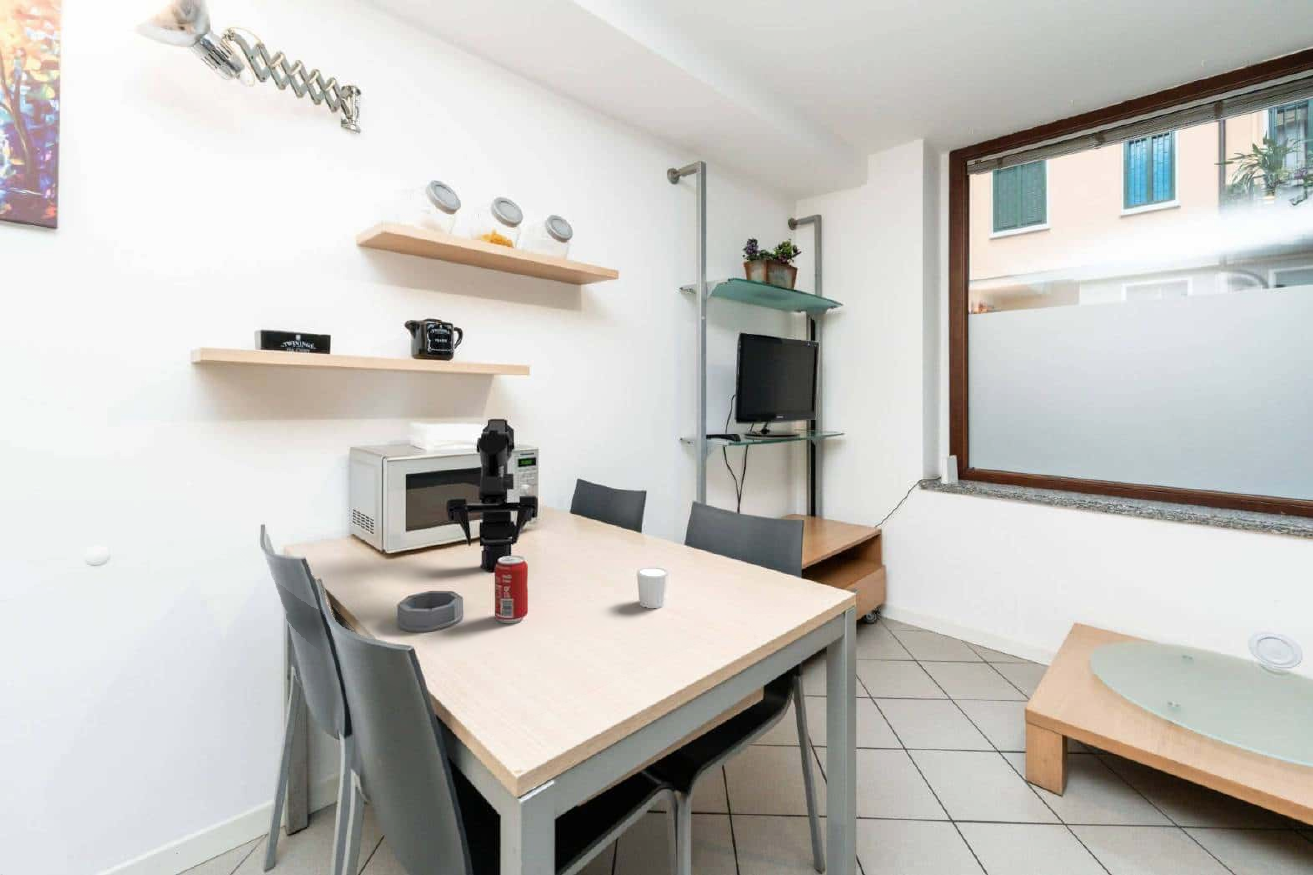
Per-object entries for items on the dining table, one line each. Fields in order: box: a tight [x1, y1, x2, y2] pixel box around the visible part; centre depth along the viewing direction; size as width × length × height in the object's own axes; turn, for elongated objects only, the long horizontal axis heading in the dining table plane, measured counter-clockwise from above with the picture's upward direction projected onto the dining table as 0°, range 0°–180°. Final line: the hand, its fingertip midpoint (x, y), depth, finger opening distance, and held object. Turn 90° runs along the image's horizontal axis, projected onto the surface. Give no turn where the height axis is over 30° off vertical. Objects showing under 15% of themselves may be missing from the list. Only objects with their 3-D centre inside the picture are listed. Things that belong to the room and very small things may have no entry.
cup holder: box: [396, 590, 464, 633], centre depth 108 cm, size 12×12×4 cm
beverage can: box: [494, 555, 529, 624], centre depth 109 cm, size 6×6×12 cm
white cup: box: [636, 567, 670, 609], centre depth 118 cm, size 7×7×7 cm
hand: (492, 543), depth 115 cm, fingers open, 9 cm apart
